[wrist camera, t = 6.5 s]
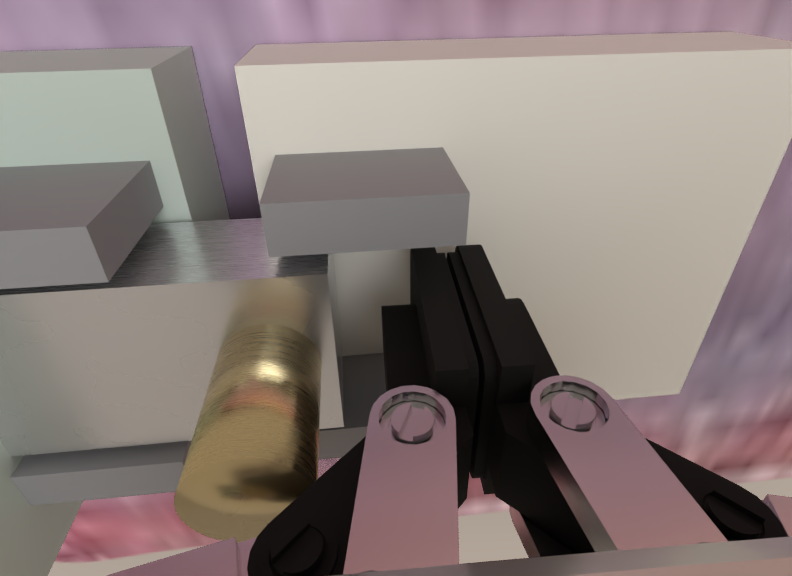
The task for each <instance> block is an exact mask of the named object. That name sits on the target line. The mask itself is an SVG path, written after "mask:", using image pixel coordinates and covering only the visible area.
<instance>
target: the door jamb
mask: <svg viewBox="0 0 792 576" xmlns="http://www.w3.org/2000/svg"><path fill="white" fill-rule="evenodd" d="M214 220H230V217H229V213H228V208H227V204H226V199H225V195H224V190H223V186H222V181H221V177H220V172H219V168H218V163H217V159H216V154H215V150H214V145H213V141H212V136H211V132H210V127H209V123H208V119H207V114H206V110H205V105H204V101H203V96H202V92H201V87H200V83H199V78H198V74H197V69H196V65H195V60H194V56H193V51H192V47H191V46H185V47H149V48H113V49H76V50H40V51H3V52H0V289H11V288H27V287H42V286H58V285H74V284H89V283H105V282H109V281H110V280H111V278H112V277H113V276H114V274H115V273H116V272H117V270H118V269H119V267H120V266H121V265H122V263H123V262H124V260H125V259H126V258H127V256H128V255H129V254H130V252H131V251H132V249H133V248H134V247H135V245H136V244H137V243H138V241H139V240H140V238H141V237H142V236H143V234H144V233H145V231H146V230H147V229H148V227H149V226H150V225H151V224H159V223H177V222H196V221H214ZM190 444H191V441H180V442H169V443H158V444H147V445H136V446H124V447H113V448H102V449H91V450H80V451H68V452H57V453H46V454H35V455H24V456H13V457H11V455H10V454H9V453H8V451H7V450H6V448H5V447H4V445H3V444H2V443H1V441H0V576H47V575H48V574H49V571H50V569H51V567H52V565H53V563H54V561H55V559H56V557H57V555H58V552H59V550H60V548H61V546H62V544H63V542H64V540H65V538H66V536H67V534H68V531H69V529H70V527H71V525H72V523H73V521H74V519H75V517H76V515H77V512H78V510H79V508H80V506H81V504H82V502H83V500H94V499H104V498H114V497H125V496H135V495H145V494H155V493H166V492H176V490H177V487H178V483H179V480H180V477H181V474H182V470H183V467H184V464H185V461H186V457H187V454H188V451H189V447H190Z"/></svg>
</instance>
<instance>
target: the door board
mask: <svg viewBox="0 0 792 576" xmlns="http://www.w3.org/2000/svg"><path fill="white" fill-rule="evenodd" d="M234 68H235V73H236V79H237V84H238V90H239V95H240V101H241V106H242V112H243V117H244V123H245V128H246V134H247V139H248V144H249V150H250V155H251V161H252V166H253V172H254V177H255V183H256V188H257V194H258V199H259V206H260V211H261V217H262V222H263V228H264V233H265V239H266V244H267V249H268V255H269V257H282V256H298V255H315V254H331V253H333V258H334V268H335V278H336V289H337V299H338V309H339V319H340V330H341V340H342V350H343V399H344V427H337V428H326V429H319V452H318V459H328V458H339V457H343V456H344V455H345V454H346V453H348V452H349V451H350V450H351V449H352V448H353V447H354V446H355V445H356V444H358V443H359V442H360V441H361V440H362V439H363V438H364V437H365V436H366V433H367V427H368V421H369V415H370V412H371V409H372V406H373V404H374V403H375V402H376V401H377V399H378V398H379V397H380V396H381V395H383V394H384V393H386V383H385V369H384V354H383V335H382V313H381V306H390V305H407V304H410V249H412V248H429V247H435V249H436V252H437V253H445V256H446V258H447V253H448V252H455V248H456V246H461V245H478V244H480V245H482V247H483V249H484V251H485V254H486V256H487V258H488V260H489V263H490V265H491V267H492V269H493V271H494V274H495V276H496V278H497V280H498V283H499V285H500V287H501V289H502V291H503V294H504V296H505V298H506V299H509V298H520V299H521V300H522V301H523V303H524V304H525V306H526V308H527V310H528V312H529V314H530V316H531V318H532V320H533V322H534V324H535V326H536V328H537V330H538V332H539V334H540V336H541V338H542V340H543V342H544V344H545V346H546V348H547V350H548V352H549V354H550V356H551V358H552V361H553V363H554V365H555V367H556V369H557V371H558V373H559V375H568V376H574V377H579V378H582V379H585V380H588V381H591V382H592V383H594V384H596V385H597V386H599V387H601V388H602V389H604V390H605V391H606V392H607V393H608V394H609V395H610V396H611V397H612V398H613V399H614V400H617V399H628V398H639V397H651V396H662V395H673V394H679V393H680V391H681V389H682V386H683V384H684V382H685V379H686V377H687V375H688V373H689V370H690V368H691V366H692V363H693V361H694V359H695V357H696V354H697V352H698V350H699V348H700V345H701V343H702V341H703V338H704V336H705V334H706V332H707V329H708V327H709V325H710V323H711V320H712V318H713V316H714V313H715V311H716V309H717V307H718V304H719V302H720V300H721V297H722V295H723V293H724V291H725V288H726V286H727V284H728V282H729V279H730V277H731V275H732V272H733V270H734V268H735V266H736V263H737V261H738V259H739V256H740V254H741V252H742V250H743V247H744V245H745V243H746V241H747V238H748V236H749V234H750V231H751V229H752V227H753V225H754V222H755V220H756V218H757V216H758V213H759V211H760V209H761V206H762V204H763V202H764V200H765V197H766V195H767V193H768V190H769V188H770V186H771V184H772V181H773V179H774V177H775V175H776V172H777V170H778V168H779V165H780V163H781V161H782V159H783V156H784V154H785V152H786V149H787V147H788V145H789V143H790V140H791V138H792V41H788V40H782V39H775V38H769V37H763V36H757V35H751V34H745V33H738V32H732V31H731V32H695V33H658V34H622V35H585V36H549V37H513V38H476V39H440V40H404V41H367V42H331V43H294V44H258V45H255V46H254V47H253V48H252V49H251V50H250V51H249V52H248V53H247V54H246V55H245V56H244V57H243V58H242V59H241V60H240V61H239V62H238V63H237V64H236V65H235V66H234Z"/></svg>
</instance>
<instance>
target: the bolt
mask: <svg viewBox="0 0 792 576" xmlns="http://www.w3.org/2000/svg"><path fill="white" fill-rule="evenodd" d="M337 427H344V399H343V350H342V340H341V330H340V319H339V309H338V299H337V289H336V278H335V268H334V258H333V253H331V254H315V255H298V256H282V257H269V255H268V249H267V244H266V239H265V233H264V228H263V222H262V218H250V219H232V220H214V221H196V222H177V223H159V224H151V225H150V226H149V227H148V229H147V230H146V231H145V233H144V234H143V236H142V237H141V238H140V240H139V241H138V243H137V244H136V245H135V247H134V248H133V249H132V251H131V252H130V254H129V255H128V256H127V258H126V259H125V260H124V262H123V263H122V265H121V266H120V267H119V269H118V270H117V272H116V273H115V274H114V276H113V277H112V278H111V280H110V281H109V282H105V283H89V284H74V285H58V286H42V287H27V288H11V289H0V441H1V443H2V444H3V445H4V447H5V448H6V450H7V451H8V453H9V454H10V455H11V457H13V456H24V455H35V454H46V453H57V452H68V451H80V450H91V449H102V448H113V447H124V446H136V445H147V444H158V443H169V442H180V441H191V444H190V447H189V451H188V454H187V457H186V461H185V464H184V467H183V470H182V474H181V477H180V480H179V483H178V487H177V490H176V493H175V497H174V506H175V509H176V512H177V514H178V516H179V517H180V518H181V520H182V521H183V522H184V523H185V524H186V525H188V526H189V527H190V528H192V529H193V530H195V531H197V532H199V533H201V534H203V535H205V536H208V537H211V538H214V539H218V540H223V541H224V540H227V539H230V538H234V537H236V540H237V542H242V541H245V540H249V539H252V538H255V537H257V536H258V535H259V534H260V533H261V531H262V530H263V529H264V528H265V527H266V526H267V525H268V523H270V522H271V521H272V520H273V519H274V518H275V517H276V516H277V515H278V514H280V513H281V512H282V511H283V510H284V509H285V508H286V507H287V506H289V505H290V504H291V503H292V502H293V501H294V500H295V499H296V498H297V497H299V496H300V495H301V494H302V493H303V492H304V491H305V490H306V489H307V488H309V487H310V486H311V485H312V484H313V483H314V482H315V481H316V480H317V479H318V452H319V429H326V428H337Z"/></svg>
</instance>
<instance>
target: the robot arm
mask: <svg viewBox="0 0 792 576" xmlns="http://www.w3.org/2000/svg"><path fill="white" fill-rule="evenodd" d="M381 313H382V335H383V354H384V369H385V383H386V393H384V394H383V395H381V396H380V397H379V398H378V399H377V401H376V402H375V403H374V404H373V406H372V409H371V412H370V415H369V421H368V427H367V433H366V436H365V437H364V438H363V439H362V440H361V441H360V442H359V443H358V444H356V445H355V446H354V447H353V448H352V449H351V450H350V451H349V452H348V453H346V454H345V455H344V456H343V457H342V458H341V459H340V460H339V461H337V462H336V463H335V464H334V465H333V466H332V467H331V468H330V469H329V470H327V471H326V472H325V473H324V474H323V475H322V476H321V477H320V478H319V479H317V480H316V481H315V482H314V483H313V484H312V485H311V486H310V487H309V488H307V489H306V490H305V491H304V492H303V493H302V494H301V495H300V496H299V497H297V498H296V499H295V500H294V501H293V502H292V503H291V504H290V505H289V506H287V507H286V508H285V509H284V510H283V511H282V512H281V513H280V514H278V515H277V516H276V517H275V518H274V519H273V520H272V521H271V522H270V523H268V525H267V526H266V527H265V528H264V529H263V530H262V531H261V533H260V534H259V535H258V536H257V537H255V538H252V539H249V540H245V541H242V542H239V543H237V540H236V537H234V538H230V539H227V540H224V541H220V542H217V543H214V544H210V545H207V546H204V547H200V548H197V549H194V550H191V551H187V552H184V553H180V554H177V555H174V556H170V557H167V558H164V559H160V560H157V561H154V562H150V563H147V564H144V565H140V566H137V567H134V568H130V569H127V570H124V571H120V572H117V573H113V574H110V575H108V576H792V497H784V496H776V495H769V494H768V495H767V496H766V497H765V499H764V500H760V499H759V498H758V497H757V496H755V495H754V494H752V493H750V492H749V491H747V490H745V489H744V488H742V487H740V486H739V485H737V484H735V483H733V482H731V481H729V480H727V479H725V478H723V477H721V476H719V475H717V474H715V473H713V472H711V471H709V470H707V469H705V468H703V467H701V466H699V465H697V464H695V463H693V462H691V461H689V460H687V459H685V458H683V457H681V456H679V455H677V454H676V453H674V452H672V451H670V450H668V449H666V448H664V447H662V446H660V445H658V444H656V443H654V442H652V441H650V440H648V439H646V438H644V437H643V435H642V434H641V433H640V432H639V430H638V429H637V428H636V427H635V425H634V424H633V423H632V422H631V420H630V419H629V418H628V417H627V415H626V414H625V413H624V412H623V411H622V409H621V408H620V407H619V406H618V404H617V403H616V402H615V401H614V399H613V398H612V397H611V396H610V395H609V394H608V393H607V392H606V391H605V390H604V389H602V388H601V387H599V386H597V385H596V384H594V383H592V382H591V381H588V380H585V379H582V378H579V377H574V376H568V375H559V373H558V371H557V369H556V367H555V365H554V363H553V361H552V358H551V356H550V354H549V352H548V350H547V348H546V346H545V344H544V342H543V340H542V338H541V336H540V334H539V332H538V330H537V328H536V326H535V324H534V322H533V320H532V318H531V316H530V314H529V312H528V310H527V308H526V306H525V304H524V303H523V301H522V300H521V299H520V298H509V299H506V298H505V296H504V294H503V291H502V289H501V287H500V285H499V283H498V280H497V278H496V276H495V274H494V271H493V269H492V267H491V265H490V263H489V260H488V258H487V256H486V254H485V251H484V249H483V247H482V245H480V244H478V245H461V246H456V248H455V252H448V253H447V258H446V256H445V253H437V252H436V249H435V247H429V248H412V249H410V304H407V305H390V306H381ZM469 471H470V474H471V477H472V478H480V479H481V483H482V487H483V491H484V494H493V493H495V495H496V497H498V498H499V499H501V500H502V501H504V502H505V503H507V504H508V505H510V514H511V518H512V521H513V524H514V526H515V528H516V530H517V532H518V535H519V537H520V539H521V541H522V544H523V546H524V548H525V550H526V553H527V555H528V557H529V558H524V559H512V560H501V561H488V562H477V563H466V564H459V541H458V540H459V537H458V508H459V507H460V506H461V505H462V503H463V502H464V501H465V500H466V498H467V489H468V480H469Z"/></svg>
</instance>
